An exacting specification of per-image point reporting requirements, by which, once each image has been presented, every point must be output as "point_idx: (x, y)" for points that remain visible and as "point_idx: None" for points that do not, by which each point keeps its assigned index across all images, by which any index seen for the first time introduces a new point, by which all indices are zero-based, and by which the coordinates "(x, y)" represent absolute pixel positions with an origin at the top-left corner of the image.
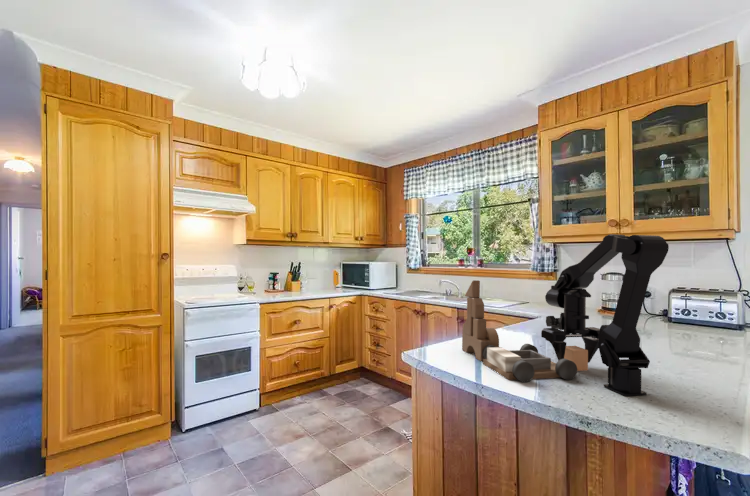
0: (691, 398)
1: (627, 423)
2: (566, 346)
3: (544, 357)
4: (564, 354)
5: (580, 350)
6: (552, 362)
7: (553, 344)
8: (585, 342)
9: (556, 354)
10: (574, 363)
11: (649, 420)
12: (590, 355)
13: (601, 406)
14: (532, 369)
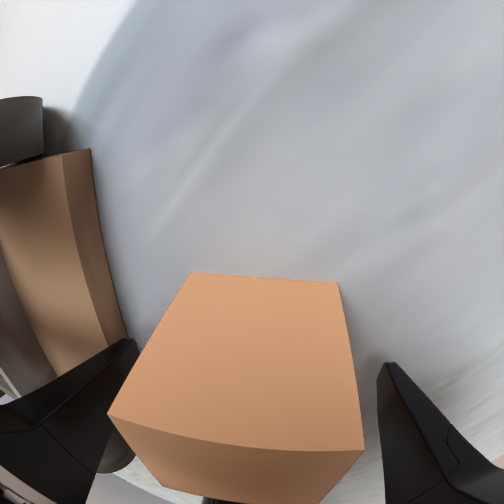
0: (360, 496)
1: (137, 484)
2: (178, 445)
3: (11, 384)
4: (111, 430)
5: (236, 500)
6: (87, 314)
7: (12, 421)
8: (448, 499)
9: (76, 372)
10: (114, 470)
11: (175, 495)
12: (381, 441)
13: (127, 468)
14: (1, 392)
